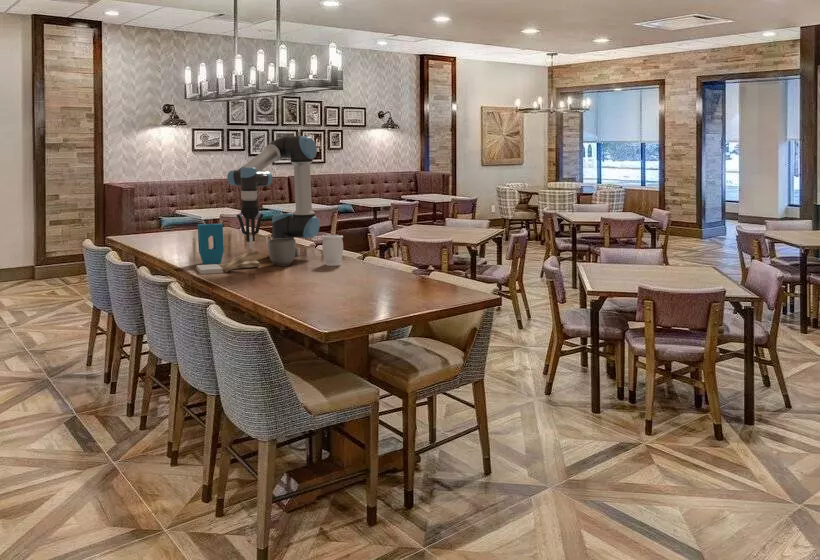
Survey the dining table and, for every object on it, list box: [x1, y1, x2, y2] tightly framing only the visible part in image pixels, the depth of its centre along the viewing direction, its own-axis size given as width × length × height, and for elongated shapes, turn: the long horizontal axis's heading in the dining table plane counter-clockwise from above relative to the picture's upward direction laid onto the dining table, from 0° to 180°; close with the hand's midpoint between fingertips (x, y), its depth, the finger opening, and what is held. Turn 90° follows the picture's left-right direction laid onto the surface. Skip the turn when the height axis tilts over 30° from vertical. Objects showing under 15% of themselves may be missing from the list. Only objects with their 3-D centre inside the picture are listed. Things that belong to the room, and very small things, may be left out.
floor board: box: [196, 263, 225, 275], centre depth 370 cm, size 11×15×2 cm
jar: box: [321, 234, 344, 267], centre depth 388 cm, size 11×10×15 cm
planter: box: [267, 238, 297, 267], centre depth 387 cm, size 14×14×13 cm
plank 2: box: [219, 260, 260, 270], centre depth 379 cm, size 18×6×2 cm, turn 113°
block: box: [197, 223, 225, 265], centre depth 392 cm, size 12×5×20 cm, turn 117°
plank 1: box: [222, 247, 259, 273], centre depth 370 cm, size 18×6×2 cm, turn 113°
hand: (250, 248), depth 371 cm, fingers closed
